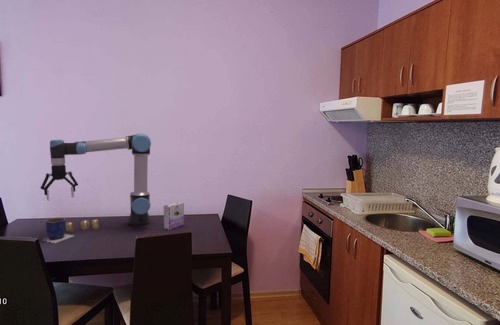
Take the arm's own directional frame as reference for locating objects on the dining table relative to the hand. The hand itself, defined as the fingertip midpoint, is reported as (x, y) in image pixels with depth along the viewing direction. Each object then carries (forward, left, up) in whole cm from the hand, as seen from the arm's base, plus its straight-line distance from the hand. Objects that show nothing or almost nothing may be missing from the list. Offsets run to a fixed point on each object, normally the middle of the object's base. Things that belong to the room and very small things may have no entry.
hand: (60, 198), depth 201 cm
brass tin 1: (+4, -8, -24) cm, 26 cm away
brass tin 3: (-7, -19, -24) cm, 32 cm away
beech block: (+2, -19, -24) cm, 31 cm away
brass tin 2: (-2, -15, -24) cm, 29 cm away
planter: (0, +5, -24) cm, 24 cm away
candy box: (-55, -41, -24) cm, 73 cm away
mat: (0, +5, -24) cm, 24 cm away
